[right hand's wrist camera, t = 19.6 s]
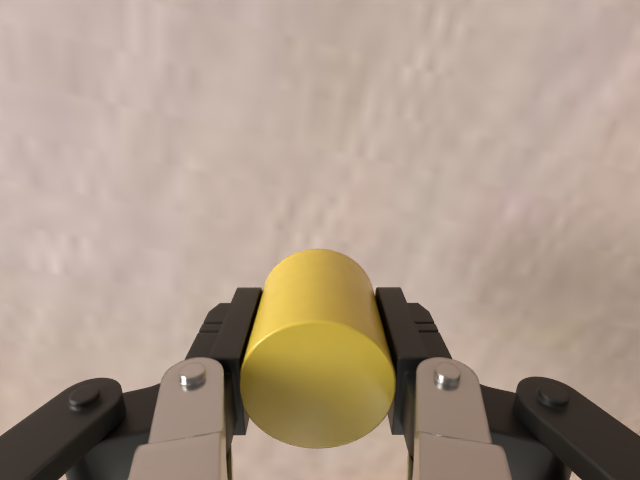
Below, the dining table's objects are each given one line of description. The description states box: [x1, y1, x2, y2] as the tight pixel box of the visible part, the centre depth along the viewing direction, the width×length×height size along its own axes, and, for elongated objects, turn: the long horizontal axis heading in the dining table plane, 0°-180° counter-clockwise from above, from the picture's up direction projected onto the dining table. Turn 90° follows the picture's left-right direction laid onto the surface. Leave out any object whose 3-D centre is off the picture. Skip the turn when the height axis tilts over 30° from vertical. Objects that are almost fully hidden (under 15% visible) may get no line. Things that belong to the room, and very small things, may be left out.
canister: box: [240, 249, 396, 448], centre depth 11 cm, size 4×4×4 cm
